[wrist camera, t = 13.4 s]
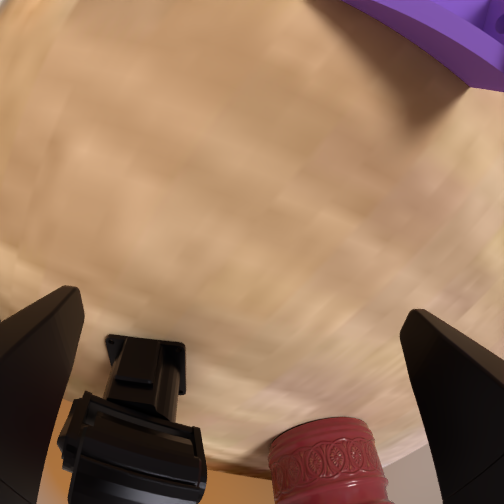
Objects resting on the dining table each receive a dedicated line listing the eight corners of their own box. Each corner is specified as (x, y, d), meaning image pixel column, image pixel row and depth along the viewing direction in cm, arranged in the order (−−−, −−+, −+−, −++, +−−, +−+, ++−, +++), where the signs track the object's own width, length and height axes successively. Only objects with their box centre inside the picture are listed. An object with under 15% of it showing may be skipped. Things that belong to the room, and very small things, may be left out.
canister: (386, 409, 32) (432, 538, 16) (347, 458, 38) (373, 561, 22) (279, 416, 30) (302, 575, 15) (258, 464, 36) (270, 580, 21)
